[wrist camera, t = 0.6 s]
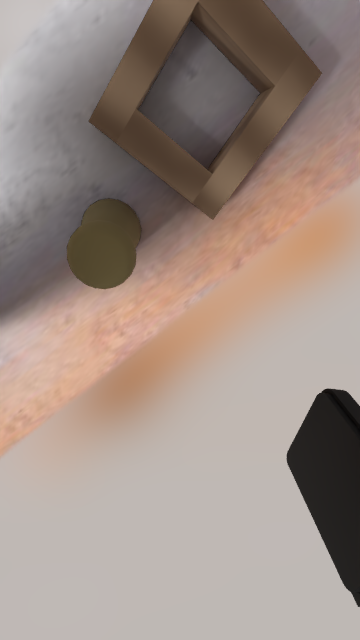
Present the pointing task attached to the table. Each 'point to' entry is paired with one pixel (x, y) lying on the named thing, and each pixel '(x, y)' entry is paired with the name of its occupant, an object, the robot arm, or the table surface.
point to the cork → (105, 244)
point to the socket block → (245, 54)
